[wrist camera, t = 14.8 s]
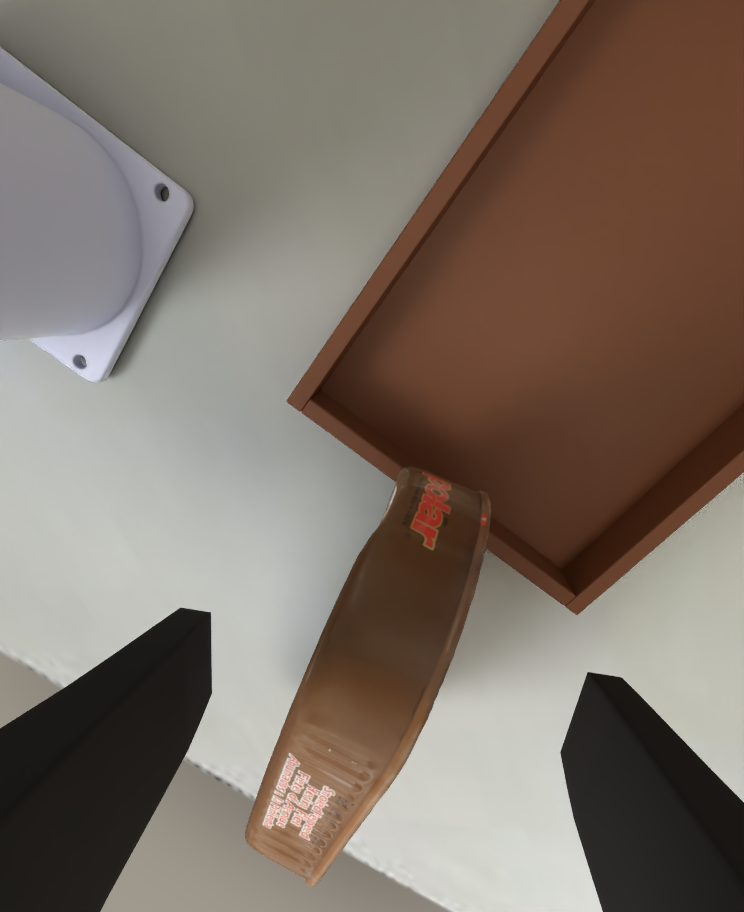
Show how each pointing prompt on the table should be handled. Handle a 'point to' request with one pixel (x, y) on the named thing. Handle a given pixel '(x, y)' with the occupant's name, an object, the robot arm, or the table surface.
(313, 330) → the table surface
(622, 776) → the robot arm
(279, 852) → the tin
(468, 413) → the tray
